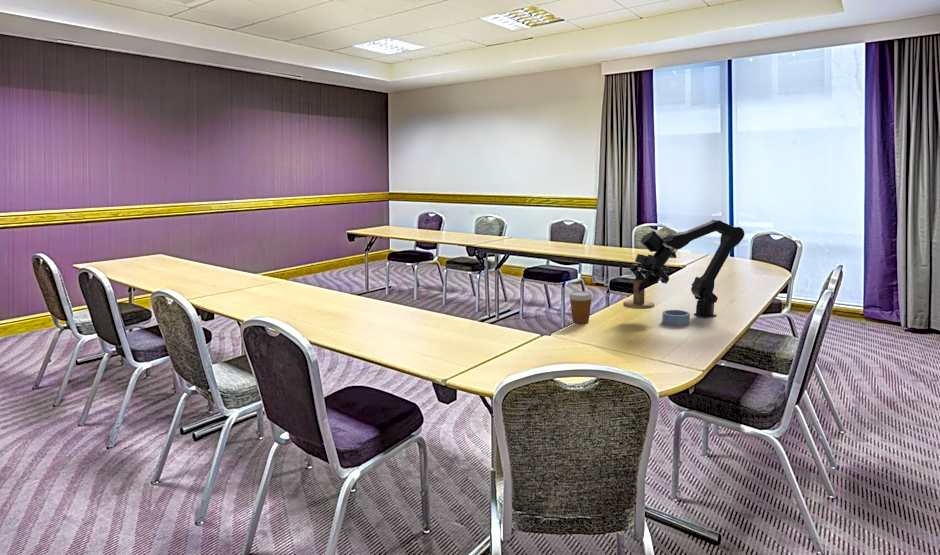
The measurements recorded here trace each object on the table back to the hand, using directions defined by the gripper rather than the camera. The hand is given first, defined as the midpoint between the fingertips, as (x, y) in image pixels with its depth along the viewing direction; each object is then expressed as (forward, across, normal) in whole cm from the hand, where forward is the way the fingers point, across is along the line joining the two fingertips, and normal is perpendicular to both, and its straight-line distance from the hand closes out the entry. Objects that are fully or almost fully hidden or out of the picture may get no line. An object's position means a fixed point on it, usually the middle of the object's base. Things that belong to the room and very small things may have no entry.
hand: (636, 289), depth 238 cm
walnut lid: (+4, 0, +6) cm, 7 cm away
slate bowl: (0, +8, +19) cm, 21 cm away
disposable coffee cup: (+23, -11, -4) cm, 26 cm away
